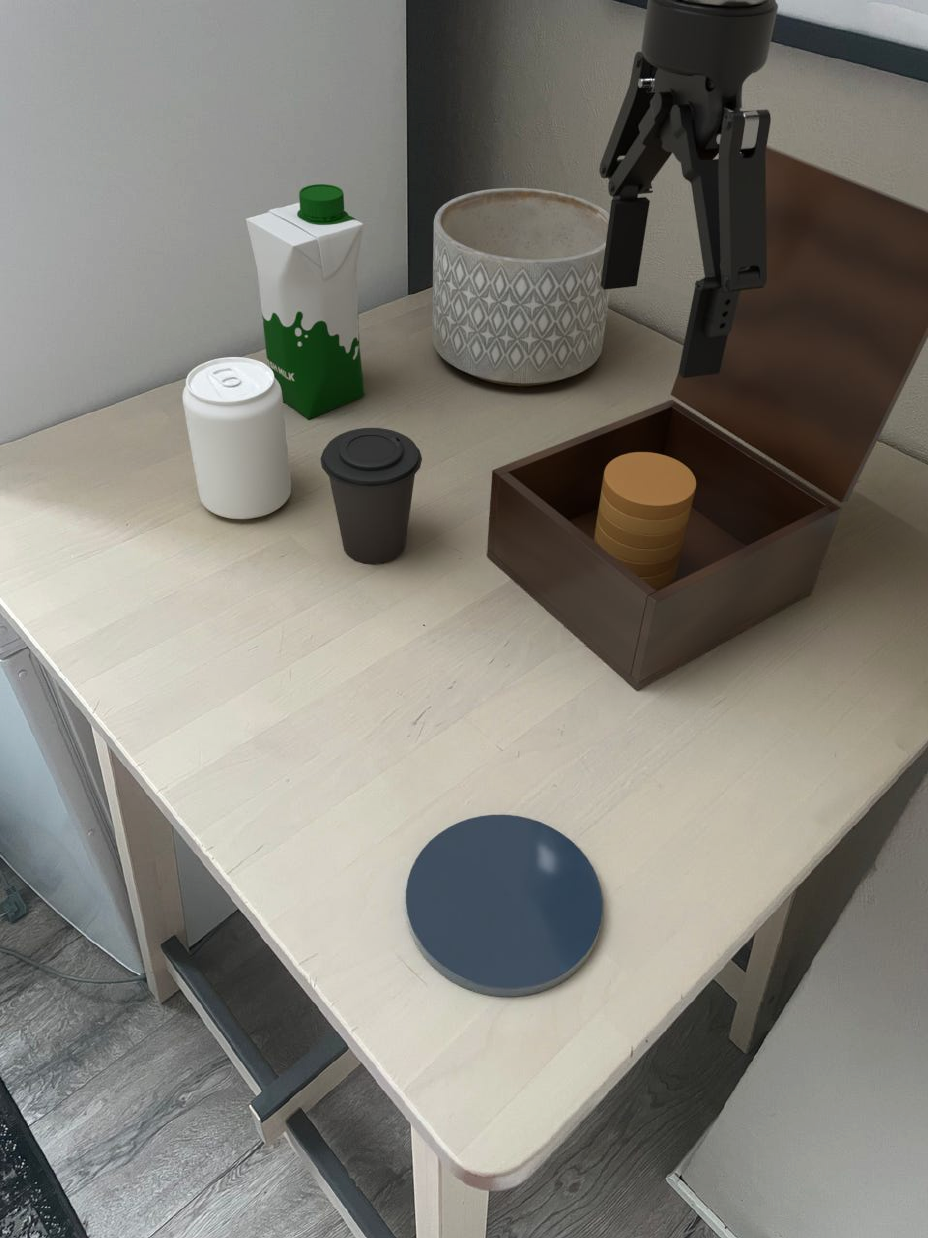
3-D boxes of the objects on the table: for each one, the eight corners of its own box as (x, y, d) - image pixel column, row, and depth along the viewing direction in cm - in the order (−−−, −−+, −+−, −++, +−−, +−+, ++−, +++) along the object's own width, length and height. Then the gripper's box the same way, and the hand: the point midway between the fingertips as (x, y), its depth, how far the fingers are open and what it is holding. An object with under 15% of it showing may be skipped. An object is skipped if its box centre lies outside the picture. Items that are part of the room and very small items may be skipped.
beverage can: (222, 535, 88) (203, 415, 80) (186, 487, 93) (164, 369, 85) (307, 506, 92) (297, 387, 83) (267, 461, 96) (254, 345, 88)
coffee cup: (440, 537, 89) (442, 439, 82) (383, 588, 84) (381, 488, 77) (365, 504, 92) (361, 407, 85) (307, 551, 87) (298, 452, 80)
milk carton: (377, 397, 106) (372, 200, 92) (305, 427, 101) (288, 225, 87) (325, 363, 110) (313, 171, 96) (254, 391, 106) (231, 194, 92)
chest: (636, 691, 77) (656, 602, 70) (486, 556, 87) (492, 469, 81) (812, 593, 85) (842, 507, 79) (655, 482, 96) (672, 399, 90)
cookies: (691, 583, 84) (715, 485, 78) (628, 615, 81) (648, 516, 75) (633, 538, 88) (652, 442, 82) (571, 567, 85) (585, 469, 79)
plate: (641, 926, 62) (644, 918, 62) (483, 1037, 57) (483, 1029, 56) (520, 794, 69) (521, 785, 69) (368, 882, 64) (367, 873, 63)
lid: (974, 230, 67) (1010, 231, 70) (757, 143, 78) (797, 147, 81) (841, 503, 79) (877, 493, 82) (669, 394, 90) (707, 389, 93)
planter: (476, 298, 122) (482, 175, 113) (624, 336, 117) (643, 209, 107) (401, 367, 110) (400, 235, 100) (562, 413, 104) (578, 278, 95)
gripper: (575, -54, 67) (546, 259, 82) (764, 50, 50) (685, 424, 65) (679, -57, 69) (633, 250, 84) (895, 43, 52) (790, 409, 66)
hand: (656, 327), depth 74 cm, fingers open, 13 cm apart
